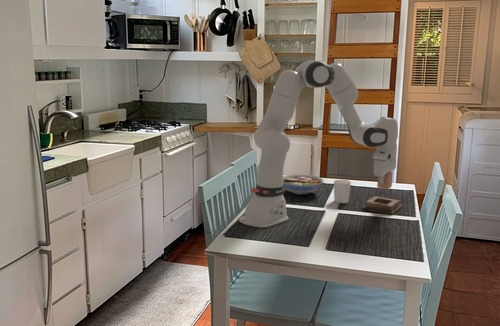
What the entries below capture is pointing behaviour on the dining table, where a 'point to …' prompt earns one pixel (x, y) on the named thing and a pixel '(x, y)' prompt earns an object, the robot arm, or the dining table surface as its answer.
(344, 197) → the white cup
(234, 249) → the dining table surface
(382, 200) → the walnut socket base
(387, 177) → the terracotta block
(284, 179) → the ramen bowl
